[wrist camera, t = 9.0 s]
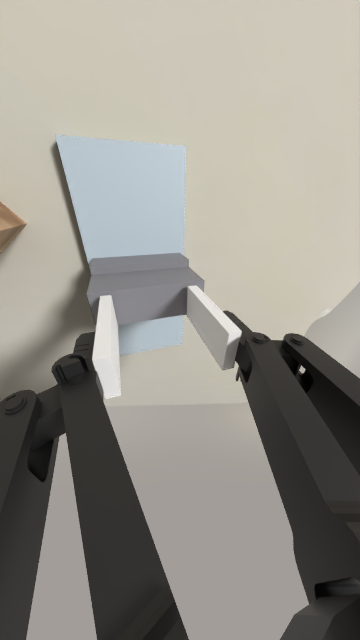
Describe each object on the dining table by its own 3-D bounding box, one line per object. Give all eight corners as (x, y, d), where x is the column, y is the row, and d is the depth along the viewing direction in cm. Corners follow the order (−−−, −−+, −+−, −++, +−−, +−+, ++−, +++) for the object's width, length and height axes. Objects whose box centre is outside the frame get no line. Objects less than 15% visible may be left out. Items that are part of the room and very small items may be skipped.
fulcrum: (112, 352, 26) (112, 402, 20) (58, 138, 14) (14, 87, 8) (180, 339, 29) (200, 380, 22) (182, 148, 17) (226, 116, 10)
